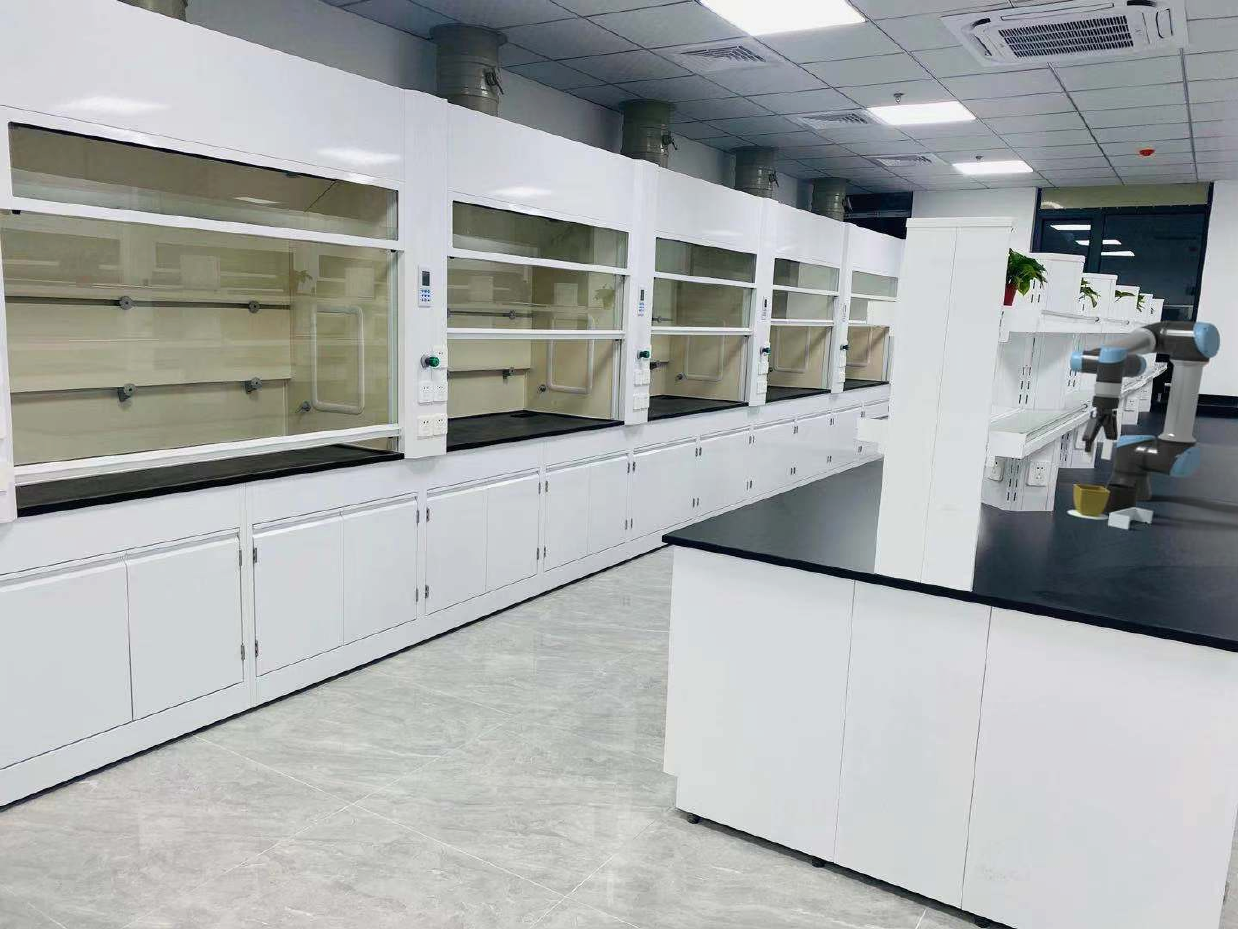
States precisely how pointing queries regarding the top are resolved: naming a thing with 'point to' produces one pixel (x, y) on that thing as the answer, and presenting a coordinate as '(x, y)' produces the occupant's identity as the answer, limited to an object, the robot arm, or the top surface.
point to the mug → (1121, 497)
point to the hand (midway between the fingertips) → (1096, 460)
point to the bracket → (1129, 517)
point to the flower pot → (1090, 499)
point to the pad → (1099, 517)
